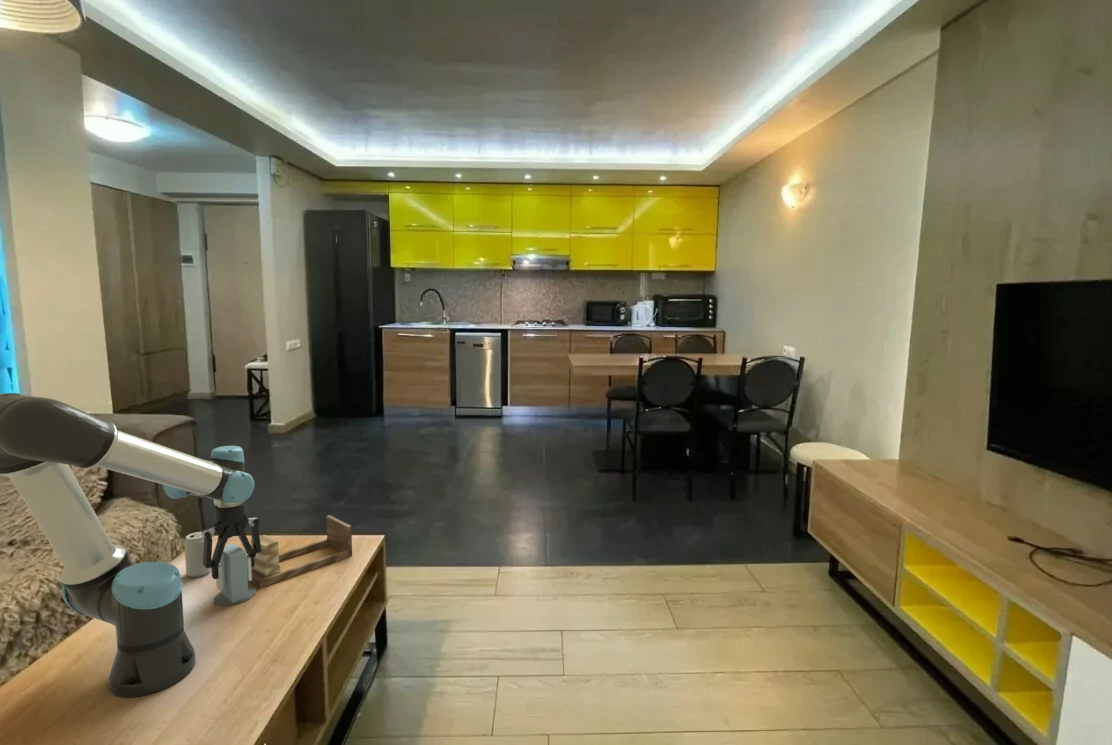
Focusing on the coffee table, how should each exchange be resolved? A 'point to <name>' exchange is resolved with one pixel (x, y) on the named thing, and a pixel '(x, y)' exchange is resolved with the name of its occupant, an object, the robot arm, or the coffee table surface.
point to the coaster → (224, 601)
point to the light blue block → (234, 573)
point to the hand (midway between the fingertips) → (234, 583)
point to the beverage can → (195, 555)
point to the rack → (336, 538)
